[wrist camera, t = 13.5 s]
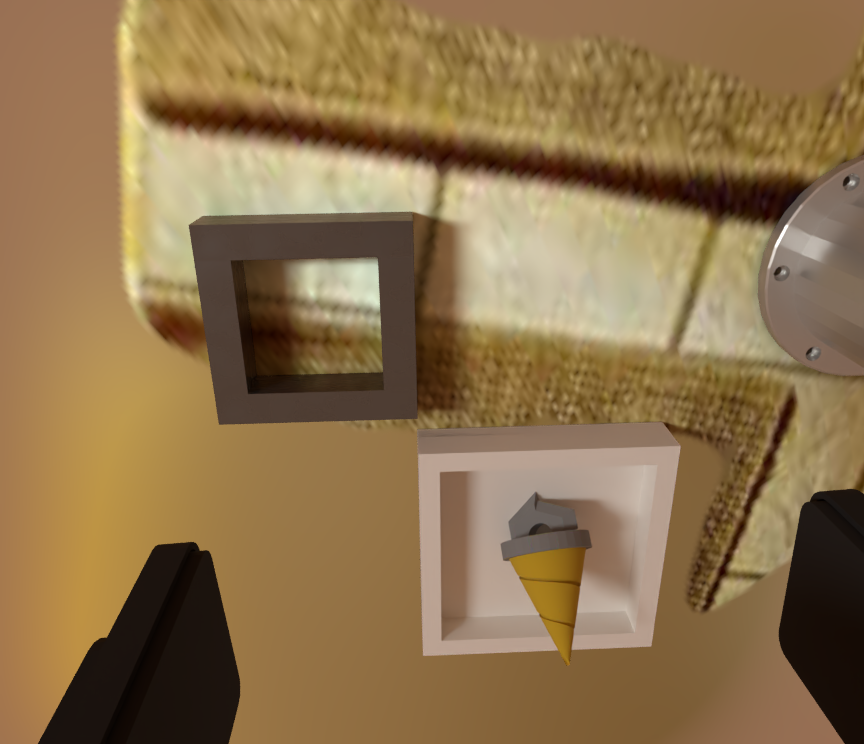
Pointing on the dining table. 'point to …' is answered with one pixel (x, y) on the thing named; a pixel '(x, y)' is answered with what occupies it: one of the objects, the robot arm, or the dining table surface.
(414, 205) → the dining table surface
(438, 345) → the dining table surface
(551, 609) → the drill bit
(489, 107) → the dining table surface
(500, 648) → the tray
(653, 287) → the dining table surface
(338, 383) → the socket collar
